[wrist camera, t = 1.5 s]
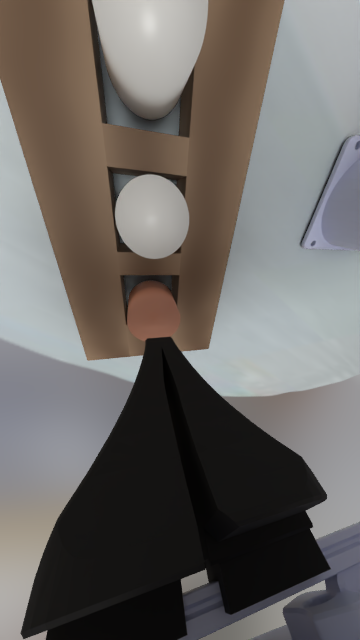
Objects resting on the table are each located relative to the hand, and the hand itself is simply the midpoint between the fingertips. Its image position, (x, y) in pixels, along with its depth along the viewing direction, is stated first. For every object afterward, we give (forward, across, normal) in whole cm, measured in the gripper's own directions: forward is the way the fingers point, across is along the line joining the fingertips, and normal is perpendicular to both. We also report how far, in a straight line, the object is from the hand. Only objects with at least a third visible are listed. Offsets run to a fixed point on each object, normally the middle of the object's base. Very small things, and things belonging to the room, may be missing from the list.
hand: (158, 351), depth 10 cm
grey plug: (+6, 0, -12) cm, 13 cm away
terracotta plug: (+6, 0, 0) cm, 6 cm away
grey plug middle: (+6, 0, -6) cm, 8 cm away
